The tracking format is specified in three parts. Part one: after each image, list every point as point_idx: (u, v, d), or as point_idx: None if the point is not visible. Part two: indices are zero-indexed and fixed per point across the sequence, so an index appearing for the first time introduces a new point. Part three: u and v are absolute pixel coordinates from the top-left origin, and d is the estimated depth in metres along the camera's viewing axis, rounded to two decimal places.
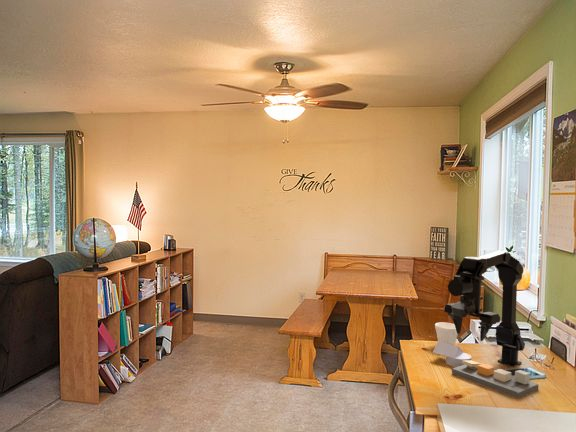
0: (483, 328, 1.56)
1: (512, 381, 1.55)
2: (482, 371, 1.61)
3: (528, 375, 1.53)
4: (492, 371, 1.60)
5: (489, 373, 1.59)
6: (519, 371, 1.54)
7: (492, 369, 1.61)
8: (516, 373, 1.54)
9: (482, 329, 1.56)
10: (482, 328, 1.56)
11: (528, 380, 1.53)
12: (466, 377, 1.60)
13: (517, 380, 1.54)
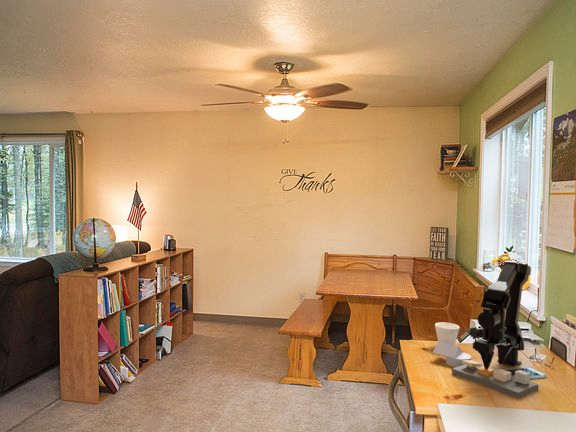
0: None
1: (512, 381, 1.55)
2: (482, 374, 1.61)
3: (528, 375, 1.53)
4: (492, 374, 1.61)
5: None
6: (519, 371, 1.54)
7: (492, 372, 1.61)
8: (516, 373, 1.54)
9: None
10: None
11: (528, 380, 1.53)
12: (466, 377, 1.60)
13: (517, 380, 1.54)
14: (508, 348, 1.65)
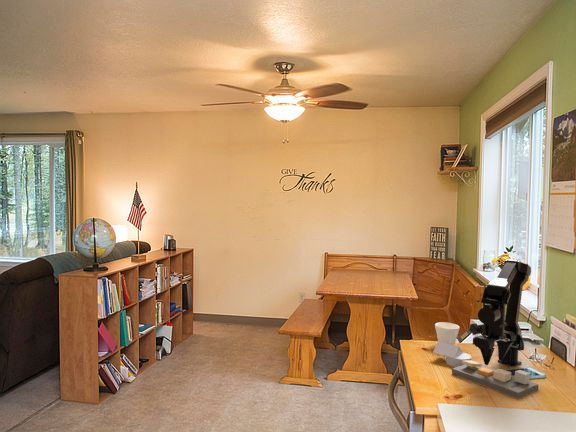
0: None
1: (512, 381, 1.55)
2: None
3: (528, 375, 1.53)
4: None
5: None
6: (519, 371, 1.54)
7: (492, 373, 1.61)
8: (516, 373, 1.54)
9: None
10: None
11: (528, 380, 1.53)
12: (466, 377, 1.60)
13: (517, 380, 1.54)
14: (508, 344, 1.65)
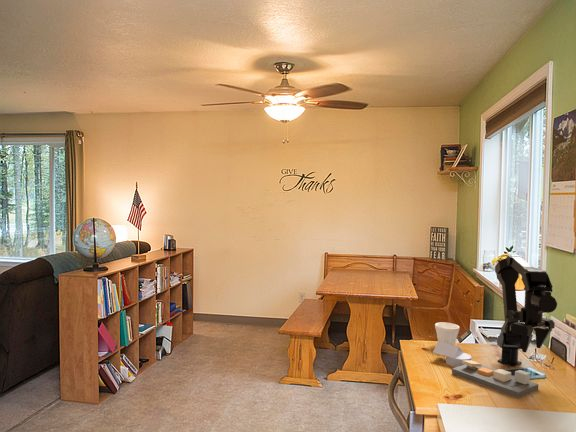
0: None
1: (512, 381, 1.55)
2: None
3: (528, 375, 1.53)
4: None
5: None
6: (519, 371, 1.54)
7: (492, 373, 1.61)
8: (516, 373, 1.54)
9: None
10: None
11: (528, 380, 1.53)
12: (466, 377, 1.60)
13: (517, 380, 1.54)
14: (547, 331, 1.61)
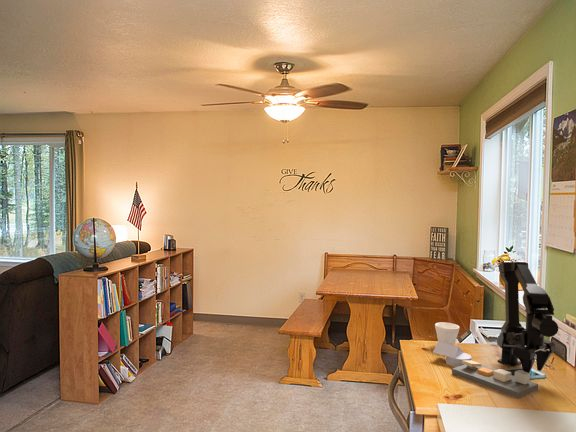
0: None
1: (512, 381, 1.55)
2: None
3: (528, 375, 1.53)
4: None
5: None
6: (519, 371, 1.54)
7: (492, 373, 1.61)
8: (516, 373, 1.54)
9: None
10: None
11: (527, 380, 1.53)
12: (466, 377, 1.60)
13: (517, 380, 1.53)
14: (548, 354, 1.58)
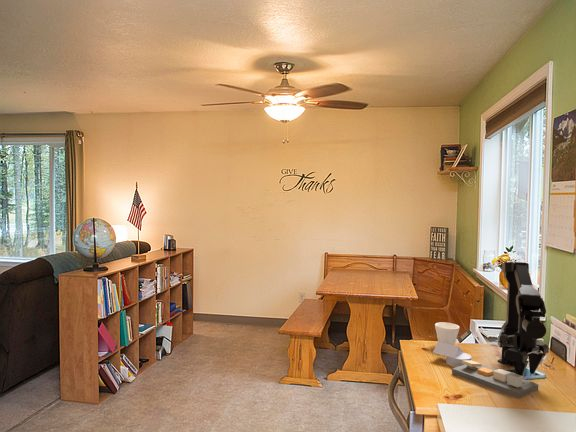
0: None
1: None
2: None
3: (521, 378, 1.50)
4: None
5: None
6: (512, 374, 1.52)
7: (492, 373, 1.61)
8: (509, 376, 1.51)
9: None
10: None
11: (520, 383, 1.50)
12: (466, 377, 1.60)
13: (510, 383, 1.51)
14: (540, 357, 1.55)
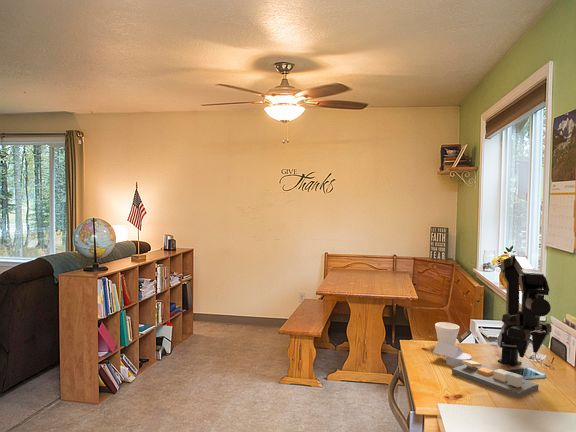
0: None
1: None
2: None
3: (521, 378, 1.50)
4: None
5: None
6: (512, 374, 1.52)
7: (492, 373, 1.61)
8: (509, 376, 1.51)
9: None
10: None
11: (520, 383, 1.50)
12: (466, 377, 1.60)
13: (510, 383, 1.51)
14: (544, 335, 1.56)
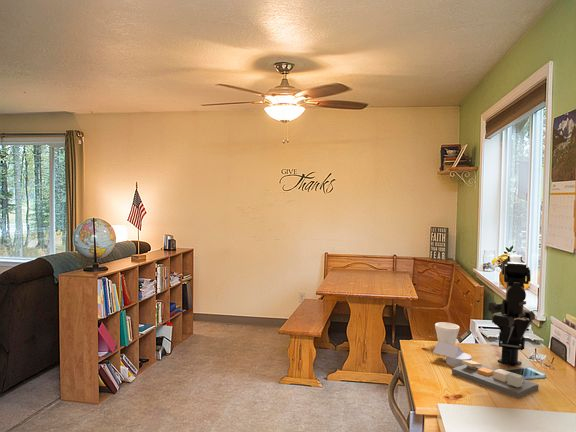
0: None
1: None
2: None
3: (521, 378, 1.50)
4: None
5: None
6: (512, 374, 1.52)
7: (492, 373, 1.61)
8: (509, 376, 1.51)
9: None
10: None
11: (520, 383, 1.50)
12: (466, 377, 1.60)
13: (510, 383, 1.51)
14: (527, 323, 1.64)
